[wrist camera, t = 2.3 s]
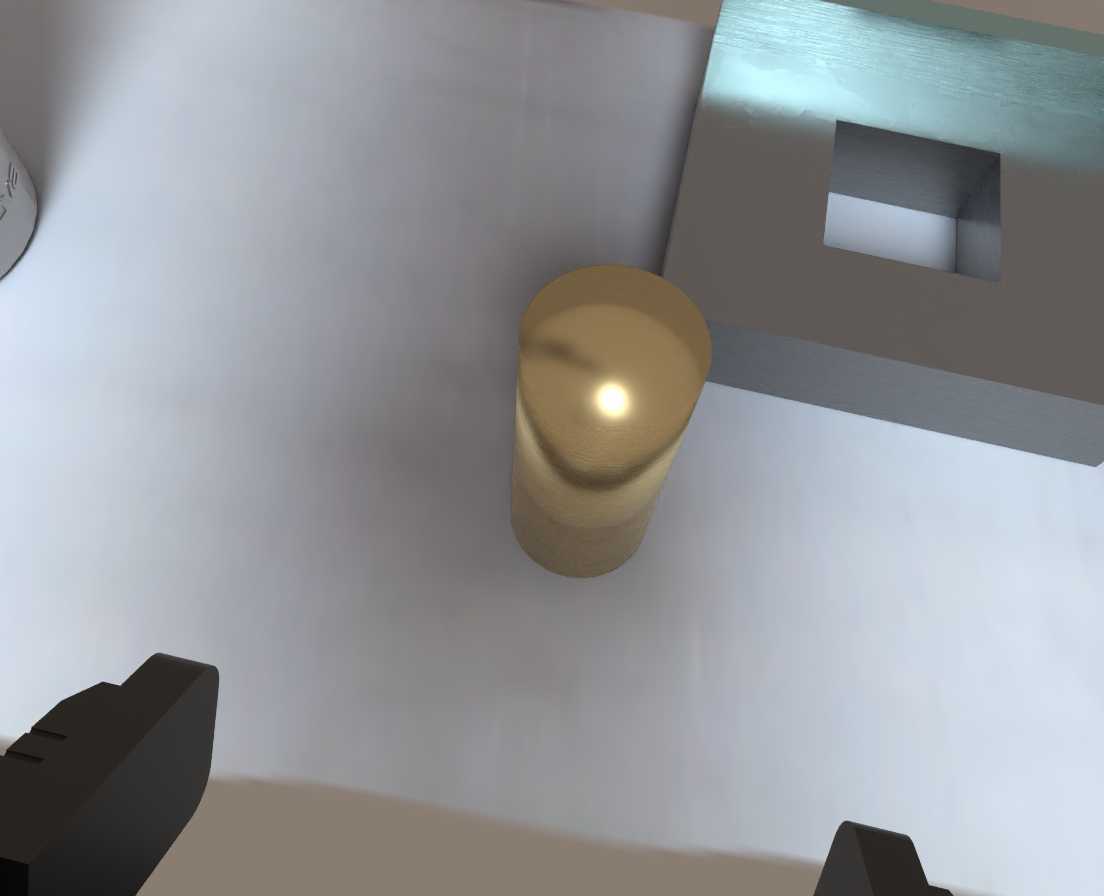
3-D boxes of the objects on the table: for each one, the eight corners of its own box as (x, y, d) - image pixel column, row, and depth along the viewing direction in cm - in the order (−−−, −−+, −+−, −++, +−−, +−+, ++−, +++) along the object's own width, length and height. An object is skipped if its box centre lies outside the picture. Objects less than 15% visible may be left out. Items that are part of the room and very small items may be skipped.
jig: (641, 366, 33) (670, 258, 27) (698, 92, 39) (731, -39, 34) (1095, 466, 32) (1218, 376, 26) (1079, 170, 38) (1175, 49, 33)
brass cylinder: (496, 560, 29) (498, 402, 20) (528, 439, 31) (543, 247, 22) (633, 591, 29) (696, 447, 20) (656, 468, 31) (724, 286, 22)
